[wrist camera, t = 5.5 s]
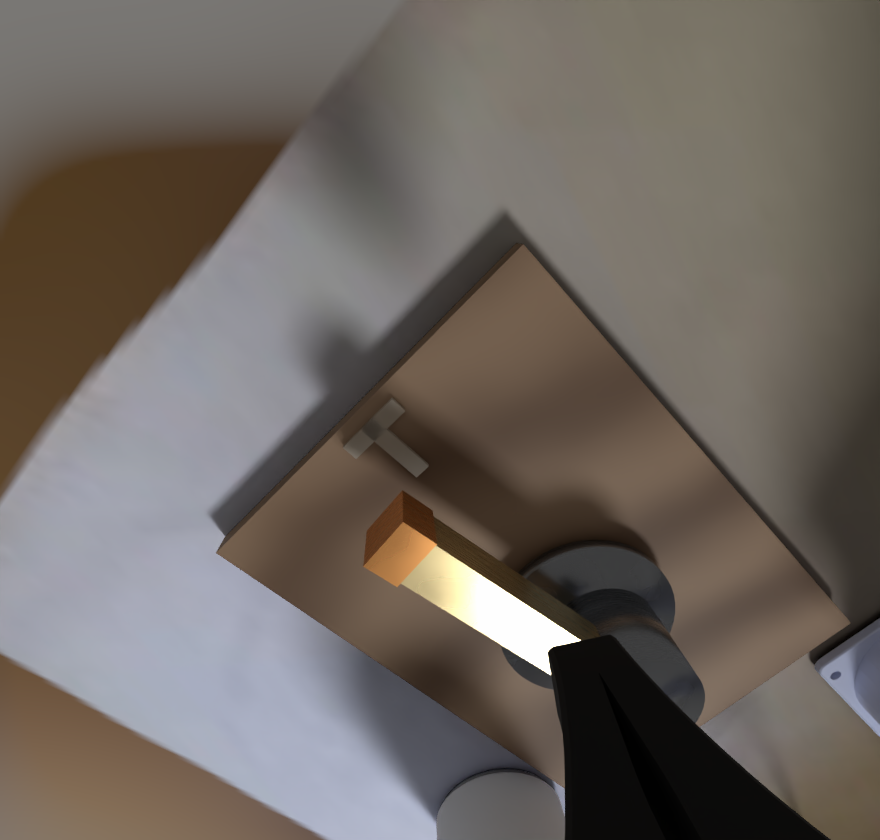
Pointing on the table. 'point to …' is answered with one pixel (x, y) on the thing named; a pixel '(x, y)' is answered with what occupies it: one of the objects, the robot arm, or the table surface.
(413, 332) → the table surface
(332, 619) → the stand
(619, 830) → the robot arm
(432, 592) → the lever door handle
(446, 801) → the can
